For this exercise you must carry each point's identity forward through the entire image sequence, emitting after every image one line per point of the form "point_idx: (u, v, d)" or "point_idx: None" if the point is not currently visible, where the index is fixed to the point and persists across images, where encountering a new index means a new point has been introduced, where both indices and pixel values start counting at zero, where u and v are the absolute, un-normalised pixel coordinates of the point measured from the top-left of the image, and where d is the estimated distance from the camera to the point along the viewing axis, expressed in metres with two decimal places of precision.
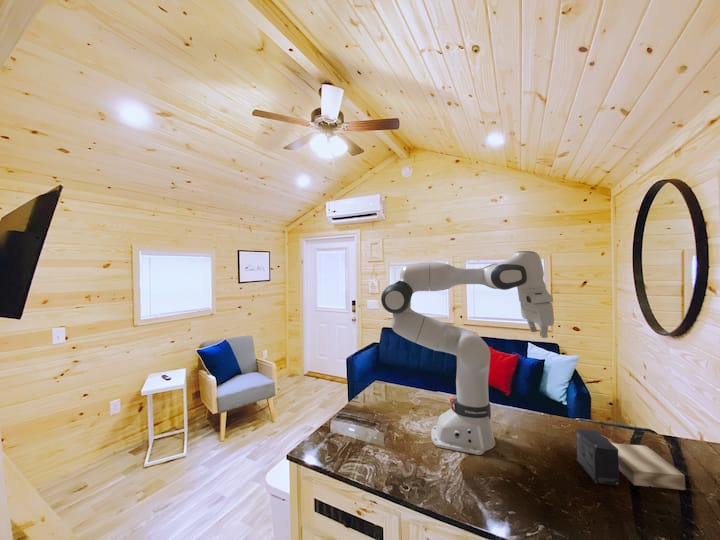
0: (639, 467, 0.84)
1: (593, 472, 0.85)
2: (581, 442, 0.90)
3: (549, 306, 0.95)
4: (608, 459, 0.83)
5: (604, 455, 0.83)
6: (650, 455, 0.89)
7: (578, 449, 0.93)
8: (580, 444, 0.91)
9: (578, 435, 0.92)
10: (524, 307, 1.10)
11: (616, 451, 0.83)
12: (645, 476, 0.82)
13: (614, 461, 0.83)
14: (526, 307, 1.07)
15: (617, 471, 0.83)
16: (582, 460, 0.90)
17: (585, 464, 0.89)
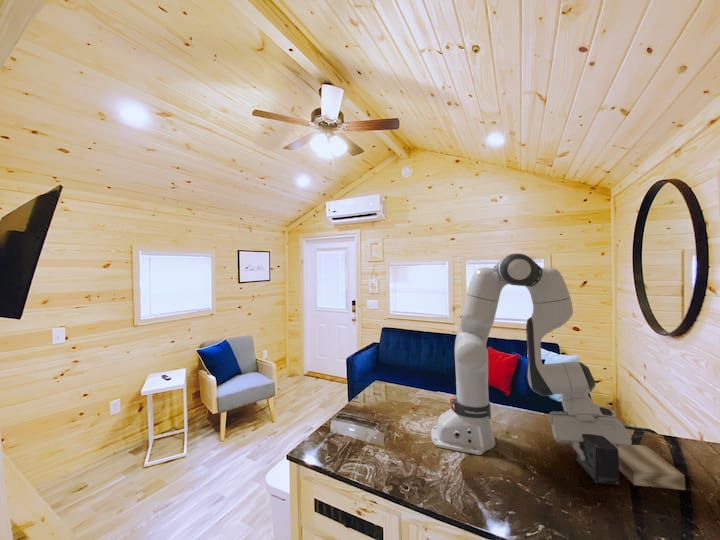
0: (639, 467, 0.84)
1: (593, 472, 0.85)
2: (581, 442, 0.90)
3: None
4: (608, 458, 0.83)
5: (605, 455, 0.83)
6: (650, 455, 0.89)
7: None
8: (580, 444, 0.91)
9: None
10: (568, 425, 0.93)
11: (616, 451, 0.83)
12: (645, 476, 0.82)
13: (614, 461, 0.83)
14: (575, 424, 0.93)
15: (617, 471, 0.83)
16: None
17: (585, 464, 0.89)
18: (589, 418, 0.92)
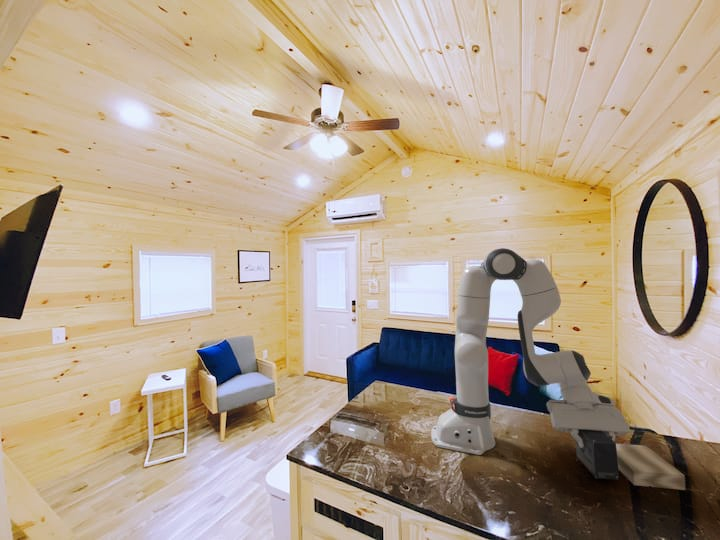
0: (639, 467, 0.84)
1: (593, 467, 0.85)
2: (580, 437, 0.91)
3: None
4: (606, 453, 0.83)
5: (603, 449, 0.83)
6: (650, 455, 0.89)
7: (577, 445, 0.93)
8: None
9: None
10: (566, 413, 0.93)
11: (614, 445, 0.83)
12: (645, 476, 0.82)
13: (613, 455, 0.83)
14: (574, 412, 0.93)
15: (616, 465, 0.83)
16: (582, 455, 0.90)
17: (584, 460, 0.89)
18: (588, 406, 0.92)
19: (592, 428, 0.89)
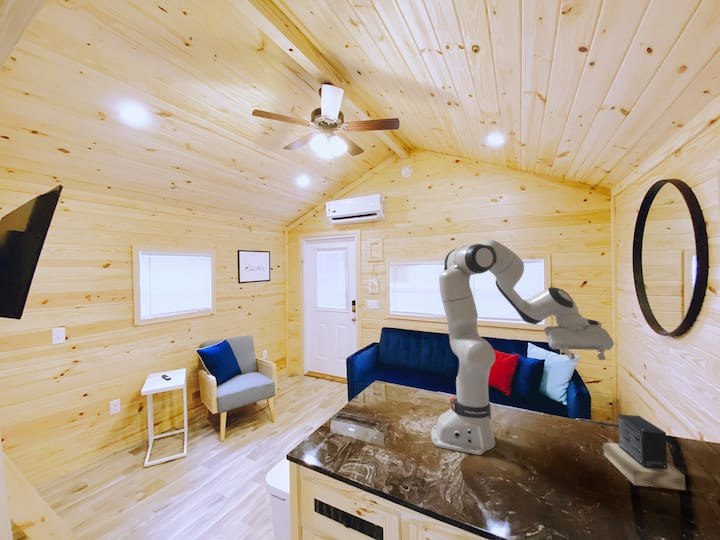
0: (639, 467, 0.84)
1: (640, 456, 0.85)
2: (625, 427, 0.91)
3: None
4: (655, 442, 0.83)
5: (652, 438, 0.83)
6: None
7: (620, 435, 0.93)
8: (624, 429, 0.91)
9: (621, 420, 0.93)
10: (561, 334, 1.11)
11: (664, 434, 0.83)
12: (645, 476, 0.82)
13: (662, 444, 0.83)
14: (567, 333, 1.10)
15: (665, 454, 0.83)
16: (626, 444, 0.90)
17: (629, 449, 0.89)
18: (579, 328, 1.10)
19: (582, 344, 1.06)
